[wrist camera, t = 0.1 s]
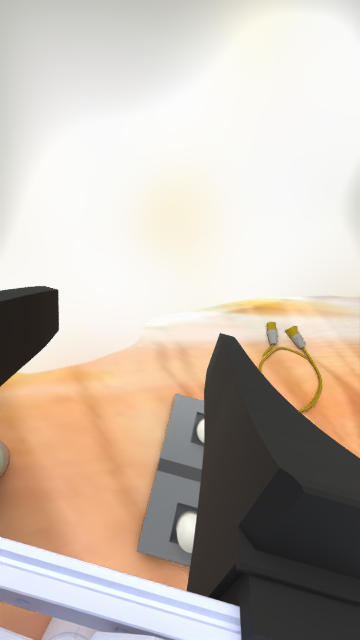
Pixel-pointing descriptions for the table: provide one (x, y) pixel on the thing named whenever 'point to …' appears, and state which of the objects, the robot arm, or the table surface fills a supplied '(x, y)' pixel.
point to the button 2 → (200, 430)
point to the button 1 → (186, 530)
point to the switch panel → (174, 482)
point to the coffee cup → (3, 458)
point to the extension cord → (300, 343)
